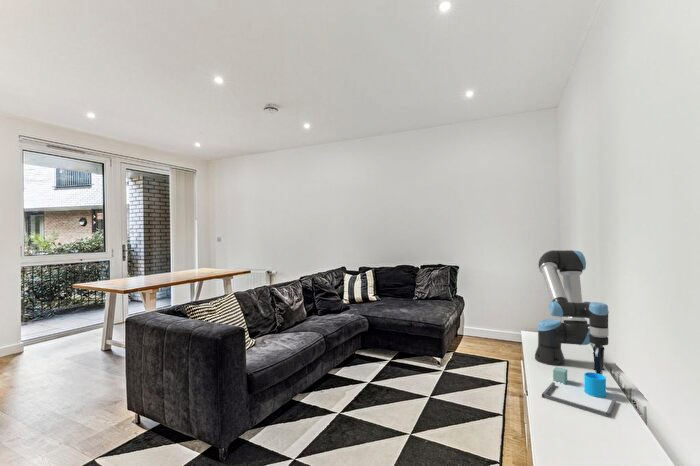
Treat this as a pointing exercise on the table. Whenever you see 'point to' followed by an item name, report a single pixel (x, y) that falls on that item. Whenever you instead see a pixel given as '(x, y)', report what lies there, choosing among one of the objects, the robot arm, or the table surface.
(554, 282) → the robot arm
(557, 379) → the block
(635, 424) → the table surface
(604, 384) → the mug
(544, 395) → the tray frame
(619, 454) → the table surface
